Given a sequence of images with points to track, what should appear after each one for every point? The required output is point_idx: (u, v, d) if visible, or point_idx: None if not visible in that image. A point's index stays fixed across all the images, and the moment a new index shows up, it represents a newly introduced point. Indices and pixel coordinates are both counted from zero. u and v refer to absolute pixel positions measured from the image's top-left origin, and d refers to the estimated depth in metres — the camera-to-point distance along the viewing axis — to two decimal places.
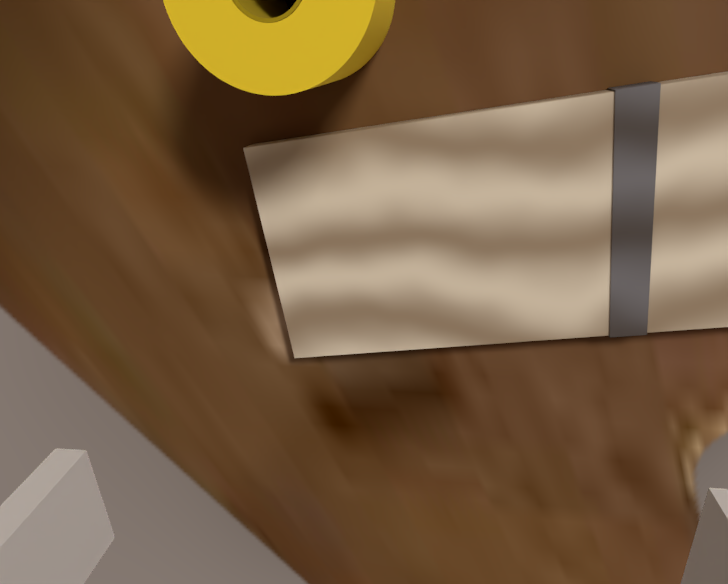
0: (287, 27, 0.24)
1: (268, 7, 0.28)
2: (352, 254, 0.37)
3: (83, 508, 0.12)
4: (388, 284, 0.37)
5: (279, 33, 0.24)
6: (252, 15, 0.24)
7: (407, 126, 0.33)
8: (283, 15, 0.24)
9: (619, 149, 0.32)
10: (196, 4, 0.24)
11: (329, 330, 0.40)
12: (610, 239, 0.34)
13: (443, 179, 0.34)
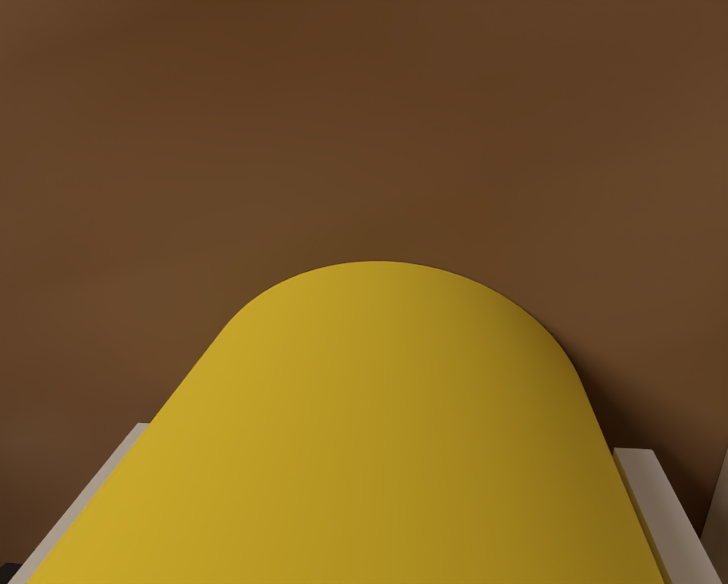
0: None
1: None
2: None
3: None
4: None
5: None
6: None
7: None
8: None
9: None
10: None
11: None
12: None
13: None
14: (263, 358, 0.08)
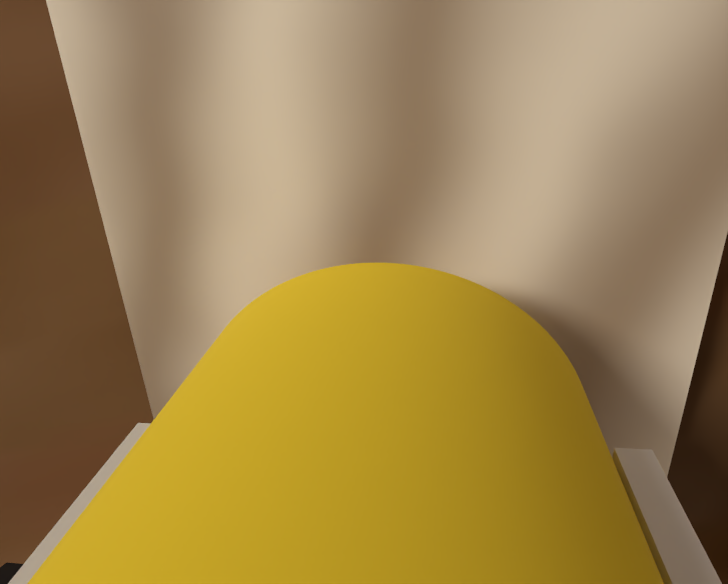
0: None
1: None
2: None
3: None
4: None
5: None
6: None
7: (129, 302, 0.16)
8: None
9: None
10: None
11: None
12: None
13: (236, 243, 0.14)
14: (263, 359, 0.08)
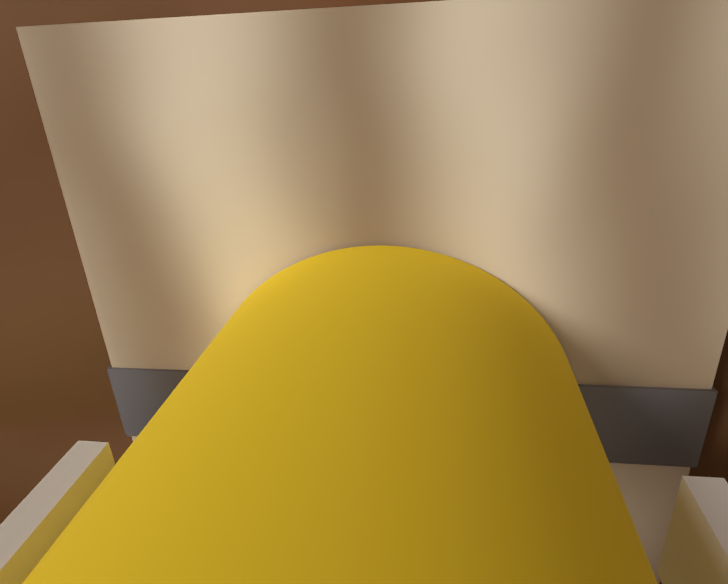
0: None
1: None
2: None
3: None
4: None
5: None
6: None
7: None
8: None
9: None
10: None
11: None
12: None
13: None
14: (278, 326, 0.10)
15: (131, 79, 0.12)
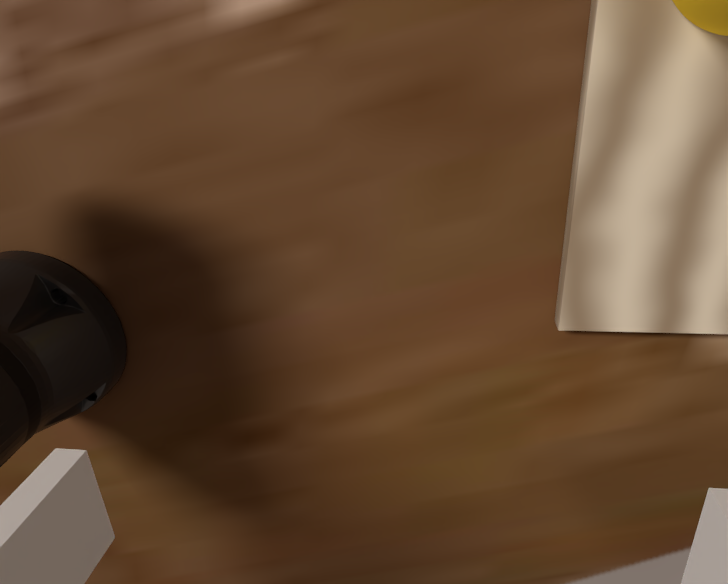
0: None
1: None
2: (695, 254, 0.35)
3: (83, 508, 0.12)
4: None
5: None
6: None
7: (579, 183, 0.34)
8: None
9: None
10: None
11: None
12: None
13: (642, 153, 0.33)
14: None
15: None
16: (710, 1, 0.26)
